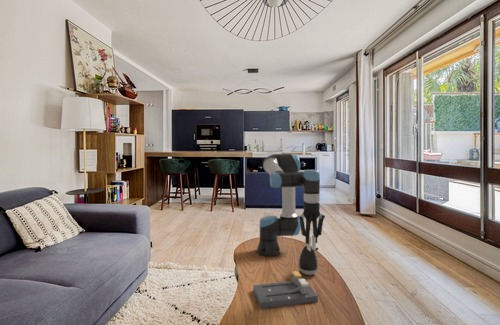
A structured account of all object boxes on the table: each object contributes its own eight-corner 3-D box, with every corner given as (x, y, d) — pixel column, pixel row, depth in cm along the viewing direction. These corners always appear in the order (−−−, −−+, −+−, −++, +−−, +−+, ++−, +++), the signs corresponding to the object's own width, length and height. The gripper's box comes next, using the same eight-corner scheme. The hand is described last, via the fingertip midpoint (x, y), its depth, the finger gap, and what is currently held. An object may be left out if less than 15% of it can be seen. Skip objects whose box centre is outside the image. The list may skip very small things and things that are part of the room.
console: (253, 290, 127) (253, 285, 127) (304, 284, 132) (304, 279, 132) (260, 308, 112) (260, 302, 112) (317, 301, 117) (317, 295, 117)
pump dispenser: (318, 278, 139) (319, 249, 138) (298, 276, 141) (298, 248, 140) (317, 269, 149) (317, 243, 148) (298, 268, 151) (299, 241, 150)
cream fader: (298, 288, 123) (298, 279, 123) (304, 288, 123) (304, 278, 123) (302, 294, 118) (302, 284, 118) (308, 293, 118) (308, 283, 118)
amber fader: (291, 280, 131) (291, 271, 130) (297, 279, 131) (297, 270, 131) (295, 285, 126) (295, 276, 125) (301, 284, 126) (301, 275, 126)
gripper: (300, 203, 123) (299, 253, 124) (329, 202, 126) (329, 251, 127) (294, 201, 131) (294, 248, 131) (322, 199, 133) (321, 245, 134)
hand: (311, 249), depth 129 cm, fingers open, 2 cm apart
